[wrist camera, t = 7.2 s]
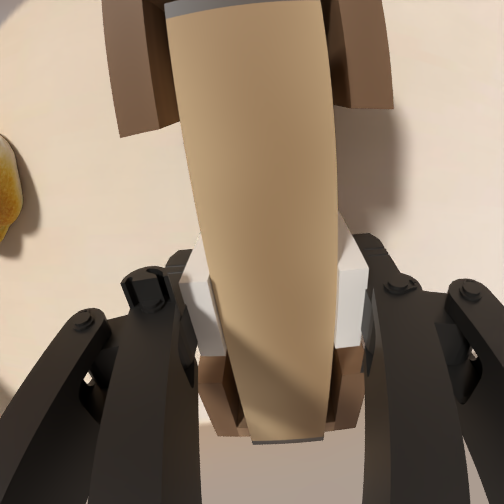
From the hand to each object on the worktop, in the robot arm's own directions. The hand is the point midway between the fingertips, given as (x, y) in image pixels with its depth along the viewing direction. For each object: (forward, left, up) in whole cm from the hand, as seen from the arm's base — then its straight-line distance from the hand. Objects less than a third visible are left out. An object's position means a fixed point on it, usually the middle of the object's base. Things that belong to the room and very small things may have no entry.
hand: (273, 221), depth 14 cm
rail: (0, 0, +1) cm, 1 cm away
